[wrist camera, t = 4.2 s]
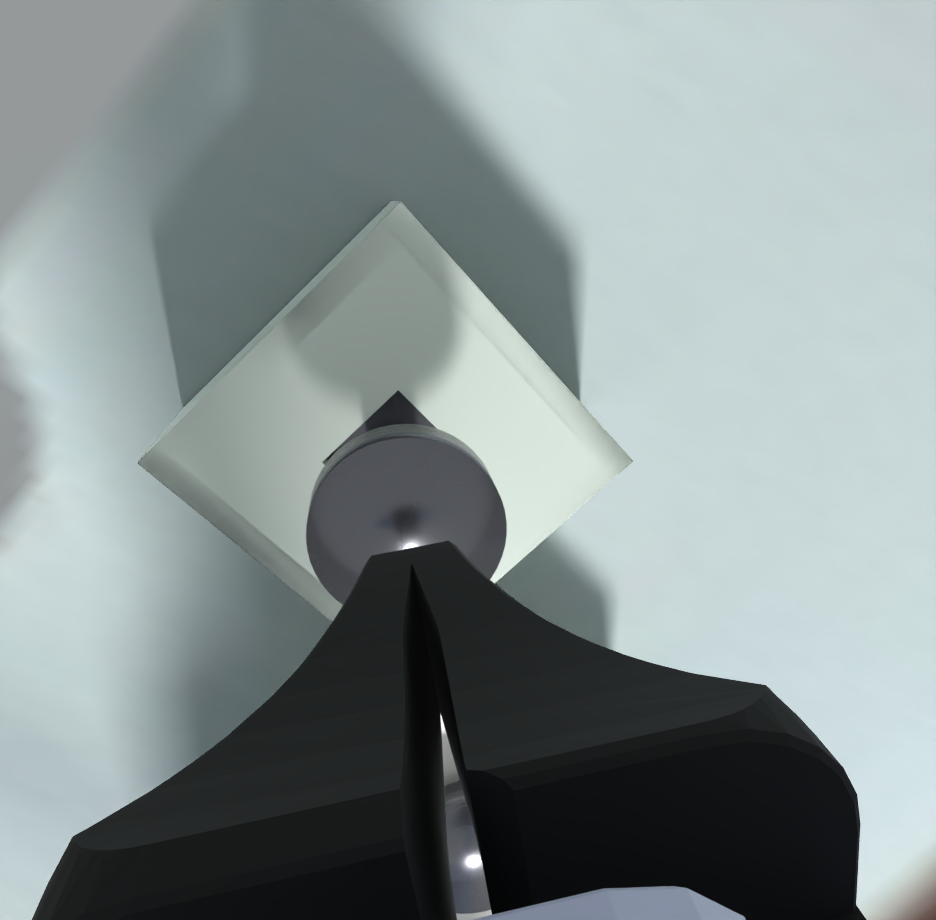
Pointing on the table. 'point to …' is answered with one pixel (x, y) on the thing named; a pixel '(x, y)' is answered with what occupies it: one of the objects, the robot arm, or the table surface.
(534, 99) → the table surface
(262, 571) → the table surface
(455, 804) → the plunger
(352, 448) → the plunger
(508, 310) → the table surface
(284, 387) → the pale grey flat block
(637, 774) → the robot arm
